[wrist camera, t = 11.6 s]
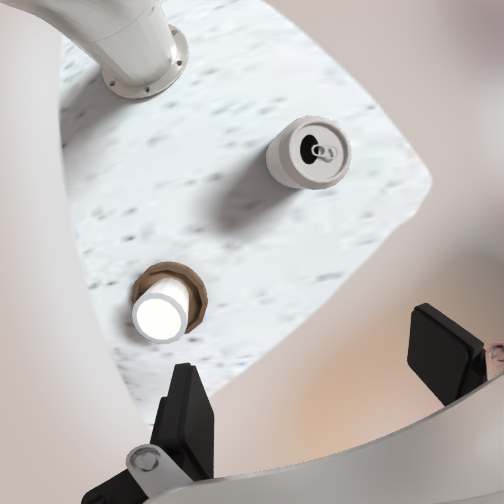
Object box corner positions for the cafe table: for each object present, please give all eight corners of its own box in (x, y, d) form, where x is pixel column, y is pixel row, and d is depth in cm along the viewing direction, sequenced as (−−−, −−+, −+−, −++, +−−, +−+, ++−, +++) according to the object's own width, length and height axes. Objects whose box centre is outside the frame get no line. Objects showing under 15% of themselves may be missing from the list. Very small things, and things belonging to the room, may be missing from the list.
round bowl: (128, 269, 38) (123, 274, 36) (196, 254, 38) (195, 258, 36) (149, 332, 40) (146, 339, 38) (214, 321, 40) (214, 328, 38)
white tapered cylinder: (199, 314, 39) (194, 339, 33) (154, 322, 39) (142, 347, 32) (186, 269, 38) (177, 287, 31) (139, 279, 37) (123, 298, 31)
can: (266, 129, 35) (284, 105, 23) (321, 136, 36) (360, 119, 24) (262, 185, 37) (278, 186, 25) (317, 190, 37) (355, 194, 26)
